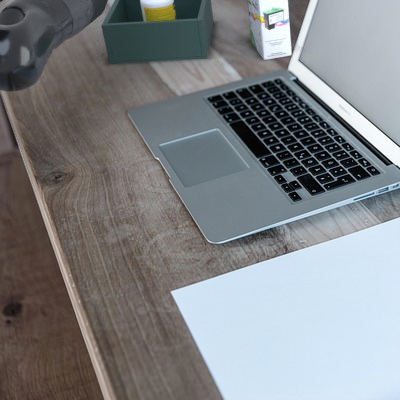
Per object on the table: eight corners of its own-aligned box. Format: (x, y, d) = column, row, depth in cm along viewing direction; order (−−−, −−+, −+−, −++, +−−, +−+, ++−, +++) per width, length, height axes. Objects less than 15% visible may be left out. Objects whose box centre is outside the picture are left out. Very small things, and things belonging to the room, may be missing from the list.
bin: (109, 65, 114) (101, 25, 110) (126, 28, 126) (118, -8, 123) (207, 59, 114) (202, 19, 110) (213, 23, 127) (209, -13, 123)
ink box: (249, 42, 119) (242, -29, 113) (278, 37, 121) (272, -33, 114) (263, 61, 113) (256, -13, 106) (293, 56, 114) (288, -18, 107)
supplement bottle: (185, 41, 119) (176, -17, 114) (155, 49, 117) (144, -10, 111) (171, 31, 123) (162, -25, 117) (142, 39, 120) (131, -19, 115)
